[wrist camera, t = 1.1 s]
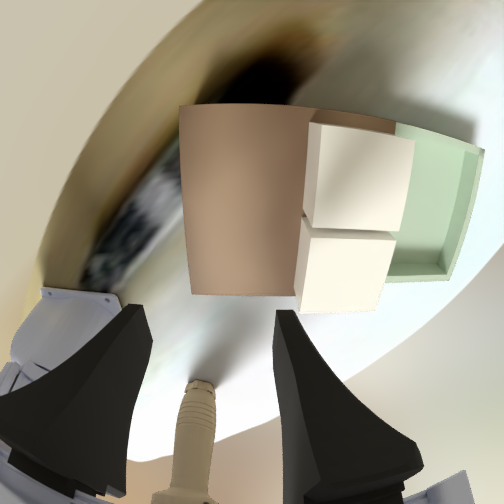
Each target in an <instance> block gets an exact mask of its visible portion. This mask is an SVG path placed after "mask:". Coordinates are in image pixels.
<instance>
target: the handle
mask: <svg viewBox="0 0 504 504" xmlns="http://www.w3.org/2000/svg"><path fill="white" fill-rule="evenodd" d="M185 393H186V394H185V395H184V397H183V400H182V403H181V406H180V410H179V413H178V418H177V423H176V430H175V442H174V455H173V467H172V479H171V484H170V488H169V489H167V490H163V491H159V492H156V493H154V494H153V495H152V500H151V504H219V503H217V502H216V501H214V500H213V499H212V498H210V496H209V495H208V480H209V473H210V465H211V457H212V451H213V445H214V438H215V428H216V404H215V390H214V389H213V386H212V384H210V383H209V382H202V381H199V380H194V382H192V383H188V384H187V386H186V389H185Z"/></svg>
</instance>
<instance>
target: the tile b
mask: <svg viewBox="0 0 504 504" xmlns="http://www.w3.org/2000/svg"><path fill="white" fill-rule="evenodd" d="M414 149H415V140H411V139H408V138H404V137H401V136H397V135H393V134H389V133H384V132H378V131H373V130H367V129H361V128H354V127H348V126H340V125H333V124H324V123H314V122H309V133H308V149H307V163H306V175H305V187H304V199H303V210H304V212H305V214H306V216H307V218H308V220H309V222H310V224H311V226H312V228H337V229H360V230H381V231H399V229H400V225H401V221H402V216H403V212H404V207H405V203H406V198H407V193H408V187H409V182H410V176H411V170H412V163H413V156H414Z"/></svg>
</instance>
